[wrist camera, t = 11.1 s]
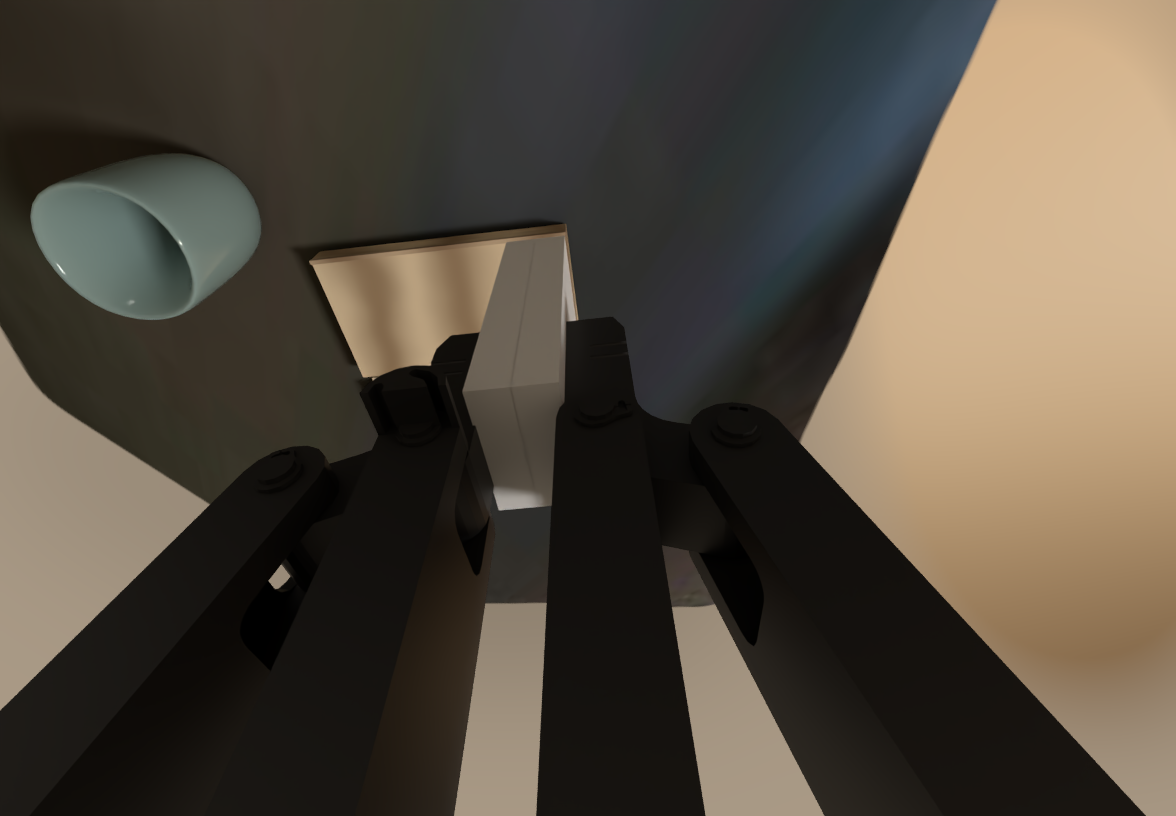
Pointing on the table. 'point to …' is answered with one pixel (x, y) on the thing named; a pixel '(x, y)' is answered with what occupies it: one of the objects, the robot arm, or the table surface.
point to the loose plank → (415, 293)
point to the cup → (148, 232)
